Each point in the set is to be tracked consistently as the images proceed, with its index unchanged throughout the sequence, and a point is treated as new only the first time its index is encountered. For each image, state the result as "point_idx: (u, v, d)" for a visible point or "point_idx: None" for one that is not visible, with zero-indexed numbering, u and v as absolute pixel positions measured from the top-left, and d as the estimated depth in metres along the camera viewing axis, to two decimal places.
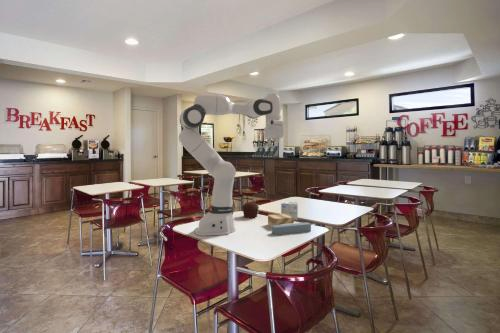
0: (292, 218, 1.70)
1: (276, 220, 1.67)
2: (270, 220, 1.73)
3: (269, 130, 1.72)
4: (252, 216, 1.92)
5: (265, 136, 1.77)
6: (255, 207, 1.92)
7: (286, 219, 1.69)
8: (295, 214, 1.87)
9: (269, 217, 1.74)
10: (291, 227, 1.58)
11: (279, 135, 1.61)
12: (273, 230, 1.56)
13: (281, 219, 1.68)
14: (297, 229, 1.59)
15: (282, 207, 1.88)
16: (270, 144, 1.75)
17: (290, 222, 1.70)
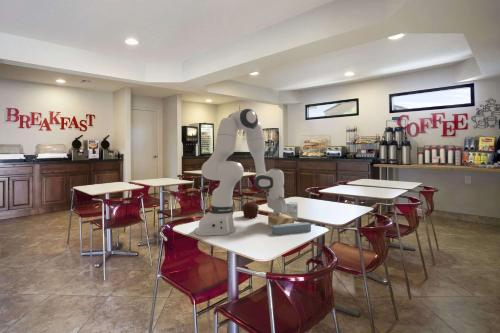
0: (293, 218, 1.70)
1: (277, 220, 1.66)
2: (270, 221, 1.71)
3: None
4: (252, 216, 1.92)
5: None
6: (255, 207, 1.92)
7: (287, 219, 1.68)
8: (295, 214, 1.87)
9: (269, 218, 1.73)
10: (291, 227, 1.58)
11: None
12: (273, 230, 1.56)
13: (282, 219, 1.67)
14: (297, 229, 1.59)
15: None
16: None
17: (291, 222, 1.69)
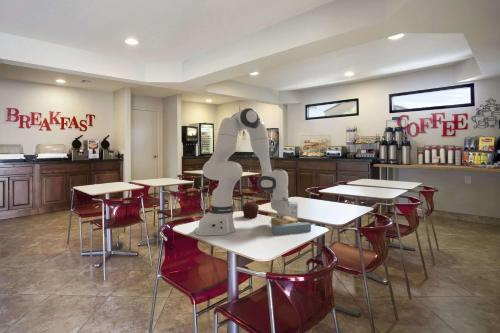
0: (296, 221, 1.64)
1: (280, 223, 1.61)
2: (274, 223, 1.66)
3: None
4: (252, 216, 1.92)
5: None
6: (255, 207, 1.92)
7: (290, 222, 1.63)
8: (295, 214, 1.87)
9: (272, 220, 1.68)
10: (291, 227, 1.58)
11: None
12: (273, 230, 1.56)
13: (285, 222, 1.62)
14: (297, 229, 1.59)
15: None
16: None
17: None
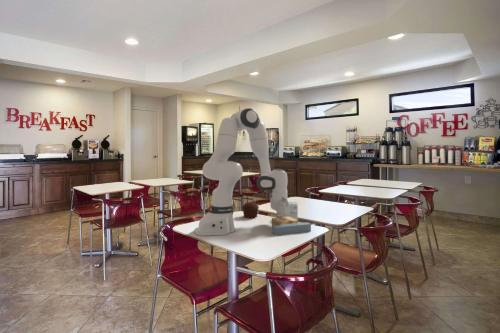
0: (297, 221, 1.64)
1: (280, 223, 1.60)
2: (274, 223, 1.66)
3: None
4: (252, 216, 1.92)
5: None
6: (255, 207, 1.92)
7: (291, 222, 1.62)
8: (295, 214, 1.87)
9: (273, 220, 1.67)
10: (291, 227, 1.58)
11: None
12: (273, 230, 1.56)
13: (285, 222, 1.61)
14: (297, 229, 1.59)
15: None
16: None
17: None
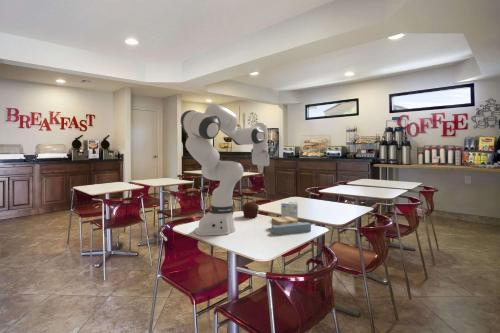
0: (297, 221, 1.64)
1: (280, 223, 1.60)
2: (274, 223, 1.66)
3: None
4: (252, 216, 1.92)
5: None
6: (255, 207, 1.92)
7: (291, 222, 1.62)
8: (295, 214, 1.87)
9: (273, 220, 1.67)
10: (291, 227, 1.58)
11: None
12: (273, 230, 1.56)
13: (286, 222, 1.61)
14: (297, 229, 1.59)
15: (282, 207, 1.88)
16: None
17: None
